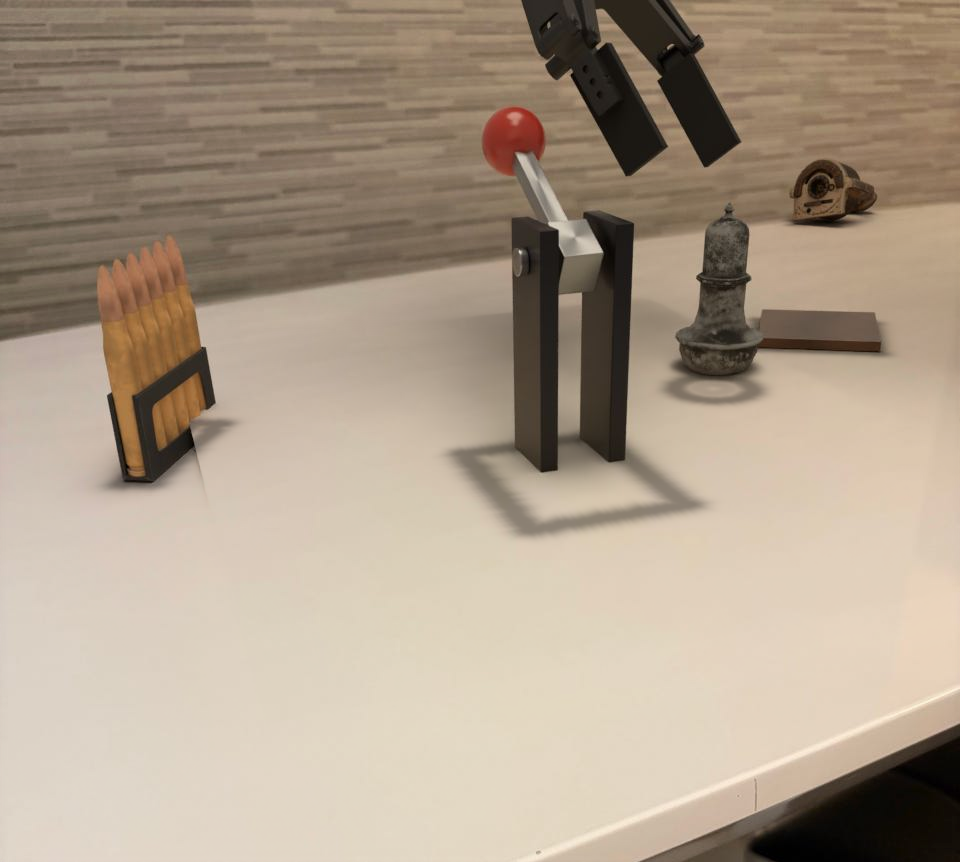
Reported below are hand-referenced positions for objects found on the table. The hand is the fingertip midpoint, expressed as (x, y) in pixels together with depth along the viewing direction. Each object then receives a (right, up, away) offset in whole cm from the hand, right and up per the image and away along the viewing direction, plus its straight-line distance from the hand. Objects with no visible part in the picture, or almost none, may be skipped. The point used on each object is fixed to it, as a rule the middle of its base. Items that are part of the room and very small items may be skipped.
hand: (688, 158), depth 67 cm
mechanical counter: (+30, +21, +63) cm, 73 cm away
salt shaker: (+3, -13, +8) cm, 15 cm away
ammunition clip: (-32, -18, 0) cm, 37 cm away
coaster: (+14, -6, +19) cm, 24 cm away
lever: (-10, -7, -8) cm, 14 cm away
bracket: (-8, -21, -6) cm, 23 cm away
